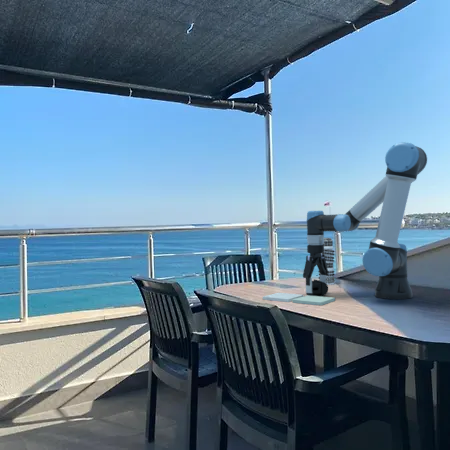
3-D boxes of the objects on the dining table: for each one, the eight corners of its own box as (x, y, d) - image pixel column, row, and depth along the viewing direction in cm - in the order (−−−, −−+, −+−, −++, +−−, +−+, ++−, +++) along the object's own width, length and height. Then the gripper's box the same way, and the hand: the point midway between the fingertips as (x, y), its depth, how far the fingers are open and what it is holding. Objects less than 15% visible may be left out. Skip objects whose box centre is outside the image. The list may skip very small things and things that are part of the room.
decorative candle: (314, 283, 233) (313, 237, 233) (329, 282, 236) (328, 237, 236) (323, 285, 224) (322, 238, 224) (338, 284, 227) (337, 237, 227)
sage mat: (307, 297, 186) (307, 295, 186) (335, 300, 178) (335, 297, 178) (292, 302, 176) (292, 299, 176) (321, 305, 168) (321, 302, 168)
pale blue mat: (278, 295, 195) (278, 292, 195) (303, 297, 187) (303, 294, 187) (262, 299, 185) (262, 296, 185) (288, 302, 177) (288, 299, 177)
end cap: (328, 296, 189) (328, 281, 189) (313, 297, 187) (313, 282, 187) (320, 293, 198) (319, 279, 198) (305, 294, 197) (305, 279, 197)
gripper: (320, 243, 205) (321, 286, 205) (294, 245, 186) (295, 293, 186) (334, 243, 200) (335, 287, 200) (309, 245, 181) (310, 295, 181)
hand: (316, 290), depth 193 cm, fingers open, 13 cm apart
